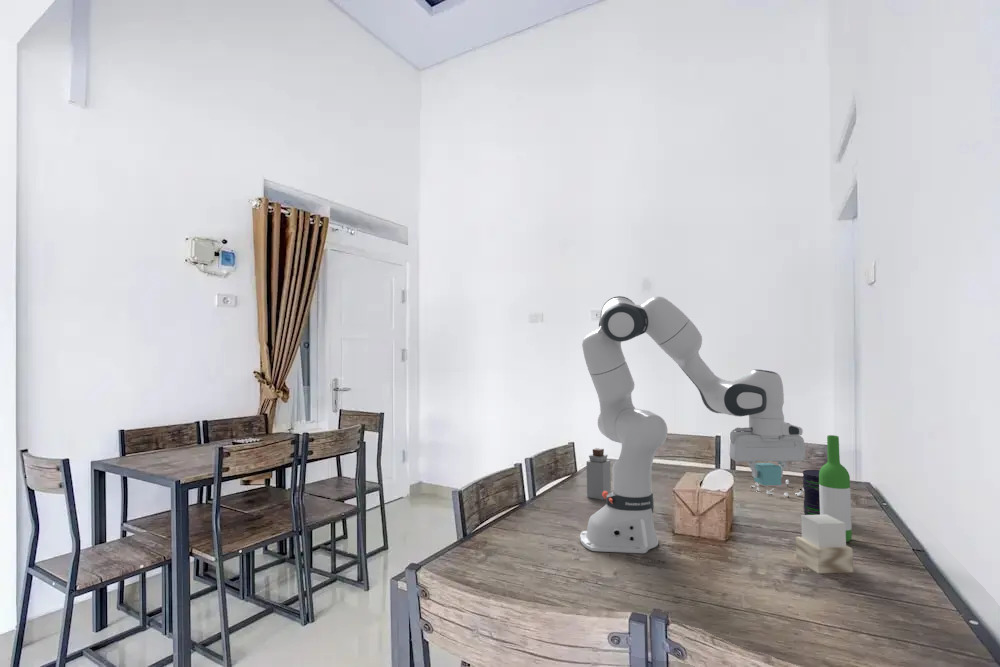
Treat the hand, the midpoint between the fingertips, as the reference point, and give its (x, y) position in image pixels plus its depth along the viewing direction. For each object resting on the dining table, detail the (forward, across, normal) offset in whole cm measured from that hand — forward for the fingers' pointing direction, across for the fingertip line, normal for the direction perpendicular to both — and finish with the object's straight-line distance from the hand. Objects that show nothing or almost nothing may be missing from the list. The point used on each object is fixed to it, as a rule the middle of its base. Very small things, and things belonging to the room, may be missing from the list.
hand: (767, 477), depth 146 cm
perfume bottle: (+21, -34, +56) cm, 69 cm away
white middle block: (+14, +8, -11) cm, 20 cm away
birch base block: (+20, +8, -11) cm, 24 cm away
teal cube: (+2, 0, 0) cm, 2 cm away
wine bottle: (+20, +24, +7) cm, 32 cm away
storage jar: (+20, +31, +24) cm, 44 cm away
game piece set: (+20, +38, +58) cm, 72 cm away
